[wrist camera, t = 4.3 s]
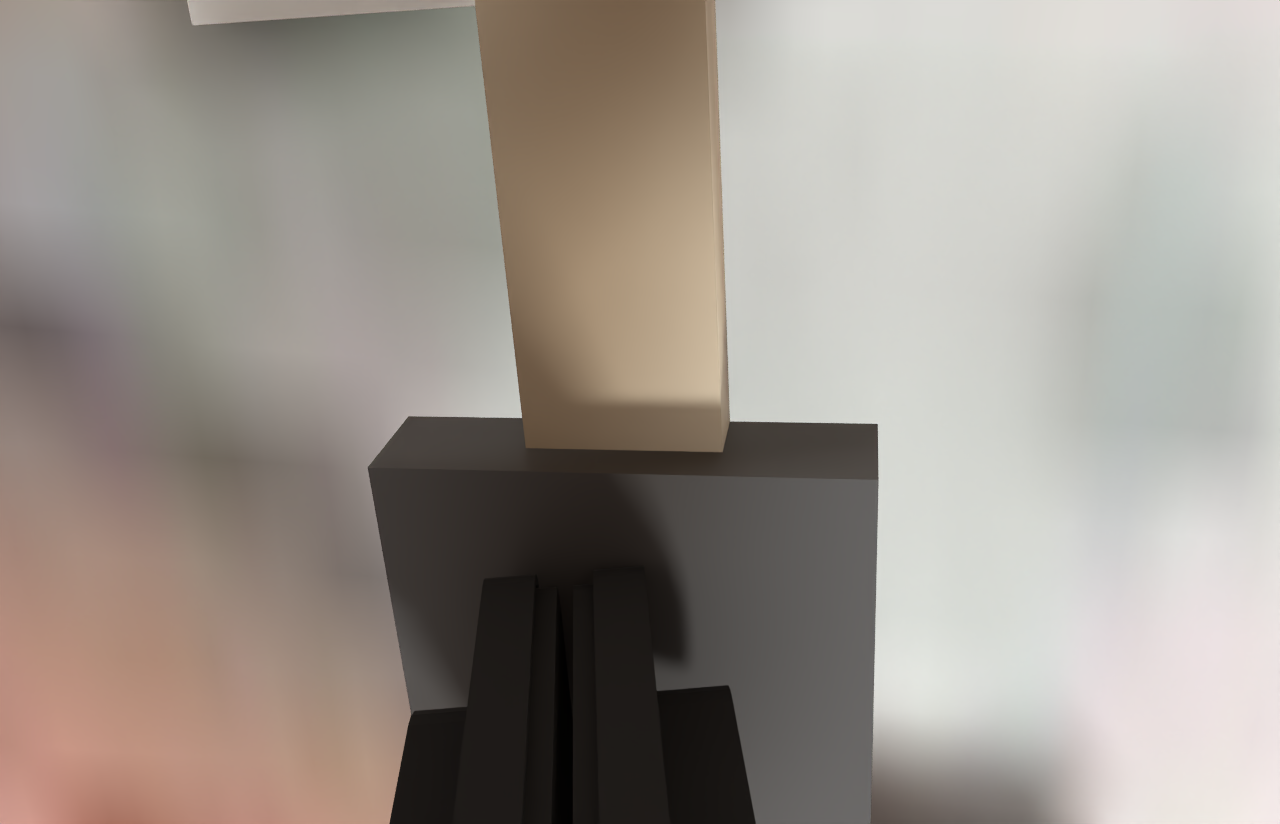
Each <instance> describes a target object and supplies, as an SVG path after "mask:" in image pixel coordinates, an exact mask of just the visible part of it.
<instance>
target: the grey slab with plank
mask: <svg viewBox="0 0 1280 824" xmlns="http://www.w3.org/2000/svg"><path fill="white" fill-rule="evenodd" d="M475 8H476V16H477V25H478V34H479V43H480V51H481V60H482V69H483V78H484V86H485V95H486V104H487V113H488V122H489V130H490V139H491V148H492V157H493V165H494V174H495V183H496V192H497V200H498V209H499V218H500V227H501V235H502V244H503V253H504V262H505V270H506V279H507V288H508V297H509V305H510V314H511V323H512V332H513V340H514V349H515V358H516V367H517V376H518V384H519V393H520V402H521V411H522V418H474V417H412V416H409V417H408V418H407V419H406V420H405V422H404V423H403V424H402V425H401V427H400V428H399V429H398V430H397V432H396V433H395V434H394V435H393V437H392V438H391V439H390V440H389V442H388V443H387V444H386V445H385V447H384V448H383V449H382V450H381V452H380V453H379V454H378V455H377V457H376V458H375V459H374V460H373V462H372V463H371V464H370V465H369V467H368V471H369V477H370V483H371V488H372V494H373V500H374V505H375V511H376V517H377V522H378V528H379V534H380V539H381V545H382V551H383V556H384V562H385V568H386V573H387V579H388V585H389V590H390V596H391V602H392V607H393V613H394V619H395V624H396V630H397V636H398V641H399V647H400V653H401V658H402V664H403V670H404V675H405V681H406V687H407V692H408V698H409V704H410V709H411V715H412V714H413V712H414V711H419V710H432V709H444V708H456V707H467V704H468V696H469V688H470V680H471V672H472V664H473V656H474V648H475V640H476V633H477V625H478V617H479V609H480V601H481V593H482V585H483V580H484V579H485V578H496V577H508V576H521V575H533V574H536V575H537V578H538V583H539V588H544V587H558V590H559V597H560V606H561V615H562V625H563V634H564V643H565V652H566V662H567V671H568V680H569V689H570V699H571V708H572V717H573V586H574V585H582V584H593V570H596V569H608V568H621V567H633V566H644V568H645V578H646V588H647V598H648V609H649V619H650V629H651V639H652V649H653V659H654V669H655V679H656V689H657V691H663V690H676V689H688V688H700V687H712V686H724V685H729V687H730V690H731V695H732V699H733V705H734V710H735V715H736V720H737V726H738V731H739V736H740V742H741V747H742V752H743V758H744V763H745V768H746V774H747V779H748V784H749V790H750V795H751V800H752V806H753V811H754V816H755V821H756V824H871V788H872V743H873V698H874V654H875V609H876V564H877V519H878V424H844V423H782V422H730V413H729V384H728V356H727V327H726V298H725V270H724V241H723V213H722V184H721V156H720V127H719V98H718V70H717V41H716V13H715V0H475Z"/></svg>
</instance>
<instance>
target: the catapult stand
mask: <svg viewBox="0 0 1280 824" xmlns="http://www.w3.org/2000/svg"><path fill="white" fill-rule="evenodd" d="M187 3H188V7H189V12H190V17H191V22H192V25H206V24H220V23H235V22H249V21H264V20H278V19H292V18H307V17H321V16H336V15H350V14H365V13H379V12H394V11H408V10H422V9H437V8H451V7H466V6H475V0H187Z"/></svg>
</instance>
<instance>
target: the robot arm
mask: <svg viewBox="0 0 1280 824" xmlns="http://www.w3.org/2000/svg"><path fill="white" fill-rule="evenodd" d="M390 824H756V821H755V816H754V811H753V806H752V800H751V795H750V790H749V784H748V779H747V774H746V768H745V763H744V758H743V752H742V747H741V742H740V736H739V731H738V726H737V720H736V715H735V710H734V705H733V699H732V695H731V690H730V687H729V685H724V686H712V687H700V688H688V689H676V690H663V691H657V689H656V679H655V669H654V659H653V649H652V639H651V629H650V619H649V609H648V598H647V588H646V578H645V568H644V566H633V567H621V568H608V569H596V570H593V584H582V585H574V586H573V717H572V708H571V699H570V689H569V680H568V671H567V662H566V652H565V643H564V634H563V625H562V615H561V606H560V597H559V590H558V587H544V588H539V583H538V578H537V575H536V574H533V575H521V576H508V577H496V578H485V579H484V580H483V585H482V593H481V601H480V609H479V617H478V625H477V633H476V640H475V648H474V656H473V664H472V672H471V680H470V688H469V696H468V704H467V707H456V708H444V709H432V710H419V711H414V712H413V714H412V715H411V718H410V721H409V725H408V730H407V735H406V740H405V746H404V751H403V756H402V761H401V766H400V772H399V777H398V782H397V787H396V793H395V798H394V803H393V808H392V813H391V819H390Z"/></svg>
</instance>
